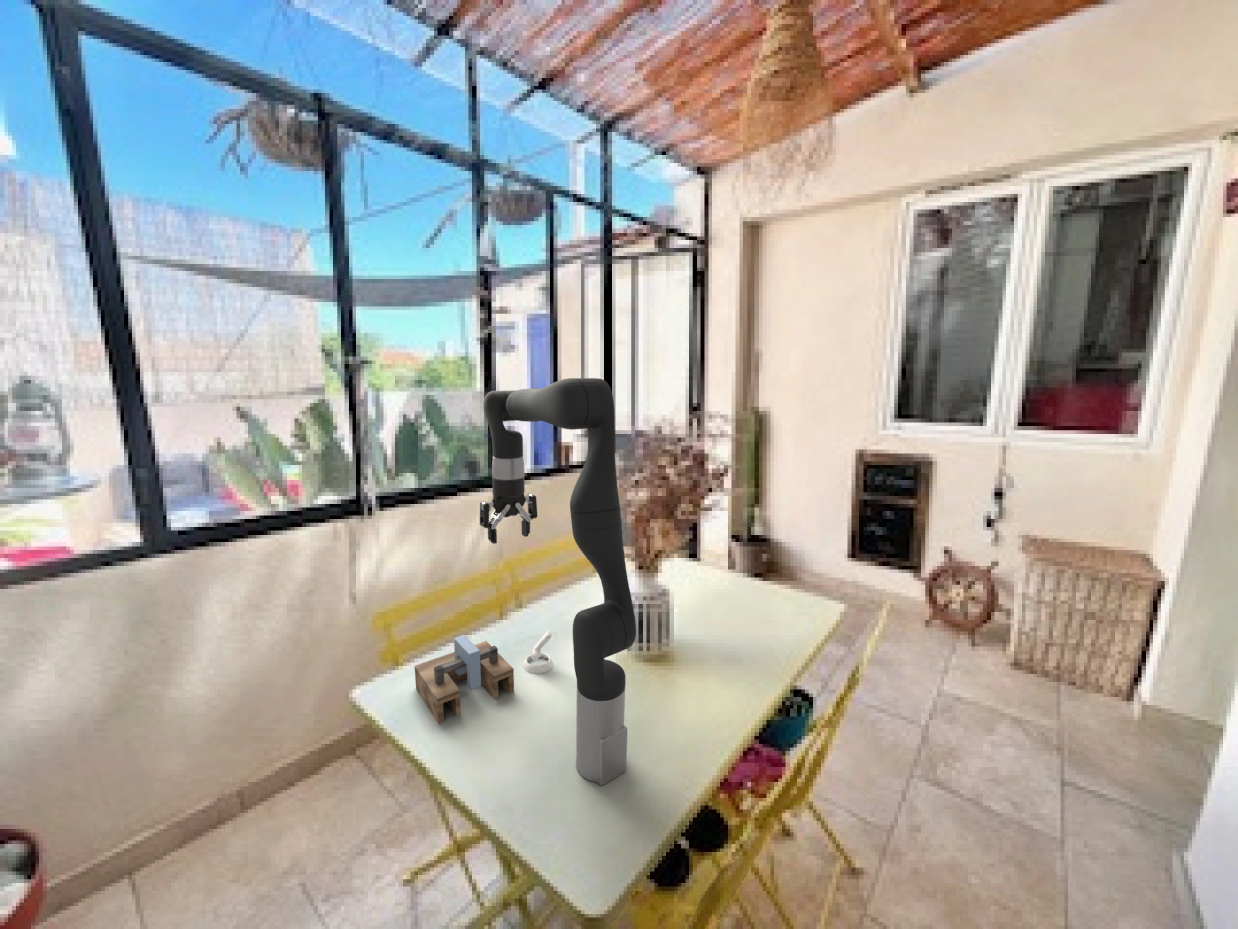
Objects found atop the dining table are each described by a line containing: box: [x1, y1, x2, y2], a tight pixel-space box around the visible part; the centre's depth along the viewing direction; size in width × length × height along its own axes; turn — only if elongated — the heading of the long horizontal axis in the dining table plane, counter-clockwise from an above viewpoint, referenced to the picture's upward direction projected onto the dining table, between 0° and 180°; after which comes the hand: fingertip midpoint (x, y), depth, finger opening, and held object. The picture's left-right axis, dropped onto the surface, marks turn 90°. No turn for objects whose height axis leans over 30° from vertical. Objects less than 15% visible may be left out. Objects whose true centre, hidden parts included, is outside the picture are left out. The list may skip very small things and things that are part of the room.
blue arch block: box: [453, 634, 482, 691], centre depth 117 cm, size 8×2×9 cm, turn 40°
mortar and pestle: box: [522, 630, 554, 675], centre depth 130 cm, size 8×12×7 cm
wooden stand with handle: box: [414, 640, 515, 725], centre depth 119 cm, size 15×18×10 cm
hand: (509, 539), depth 123 cm, fingers open, 8 cm apart
